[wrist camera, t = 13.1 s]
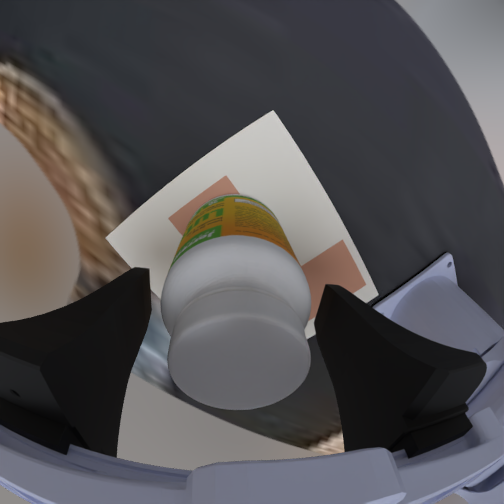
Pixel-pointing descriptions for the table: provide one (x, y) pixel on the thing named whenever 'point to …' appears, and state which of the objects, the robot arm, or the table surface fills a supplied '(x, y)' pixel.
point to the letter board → (263, 189)
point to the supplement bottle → (236, 307)
